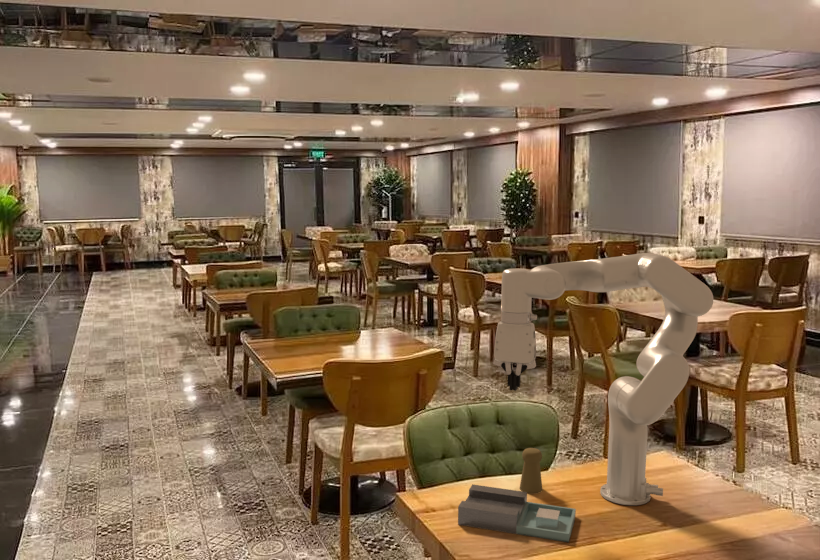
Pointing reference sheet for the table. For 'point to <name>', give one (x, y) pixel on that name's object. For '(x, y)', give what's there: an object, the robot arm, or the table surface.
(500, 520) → the slotted ledge
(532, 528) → the tray
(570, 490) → the table surface
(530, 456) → the brown pepper mill
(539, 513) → the tan square block
